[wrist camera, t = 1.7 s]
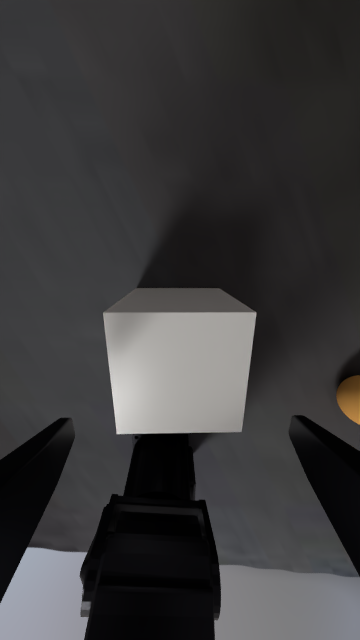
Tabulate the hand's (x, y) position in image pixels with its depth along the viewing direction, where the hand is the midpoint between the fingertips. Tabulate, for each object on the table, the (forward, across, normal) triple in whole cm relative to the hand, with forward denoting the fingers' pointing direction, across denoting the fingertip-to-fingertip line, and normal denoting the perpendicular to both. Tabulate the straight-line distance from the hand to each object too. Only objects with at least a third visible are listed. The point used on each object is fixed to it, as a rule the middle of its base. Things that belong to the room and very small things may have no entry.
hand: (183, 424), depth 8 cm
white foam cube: (+12, 0, 0) cm, 12 cm away
